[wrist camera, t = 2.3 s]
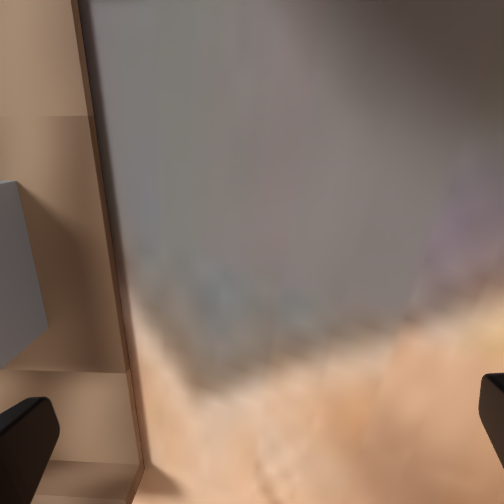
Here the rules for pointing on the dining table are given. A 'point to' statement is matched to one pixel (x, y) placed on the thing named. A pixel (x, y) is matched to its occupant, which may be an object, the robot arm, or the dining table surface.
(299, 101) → the dining table surface
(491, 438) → the robot arm
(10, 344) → the slate block
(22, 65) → the walnut box
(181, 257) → the dining table surface
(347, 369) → the dining table surface
